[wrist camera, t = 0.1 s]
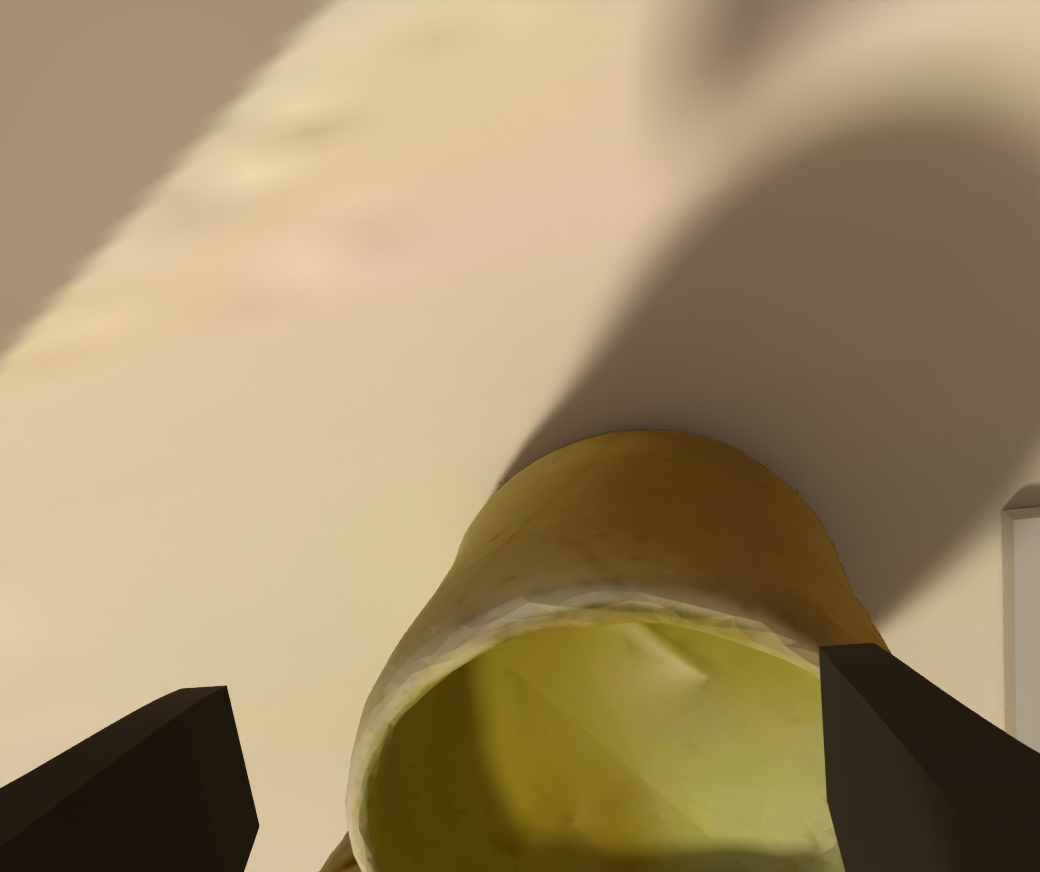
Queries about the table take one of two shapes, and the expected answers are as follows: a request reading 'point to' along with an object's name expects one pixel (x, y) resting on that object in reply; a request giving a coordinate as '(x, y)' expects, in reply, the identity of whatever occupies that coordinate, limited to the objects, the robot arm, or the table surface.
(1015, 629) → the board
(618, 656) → the mug
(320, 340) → the table surface
